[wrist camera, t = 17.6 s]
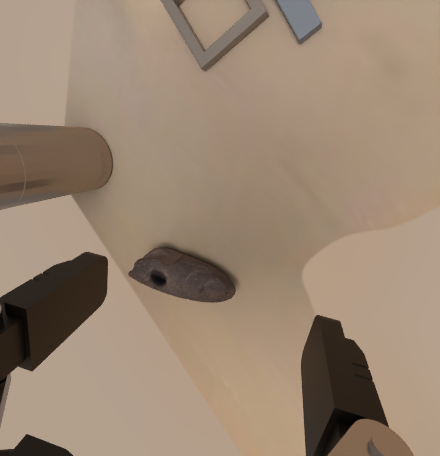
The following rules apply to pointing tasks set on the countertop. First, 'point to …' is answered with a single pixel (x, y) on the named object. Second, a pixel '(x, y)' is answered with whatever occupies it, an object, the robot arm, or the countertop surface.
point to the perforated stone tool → (182, 276)
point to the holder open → (226, 41)
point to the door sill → (300, 17)
